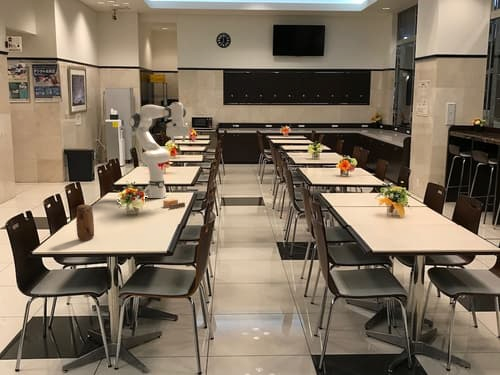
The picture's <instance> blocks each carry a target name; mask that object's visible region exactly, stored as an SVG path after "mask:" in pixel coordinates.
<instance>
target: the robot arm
mask: <svg viewBox="0 0 500 375" xmlns="http://www.w3.org/2000/svg"><path fill="white" fill-rule="evenodd" d="M186 114H187V111H186V109H185V107H184V106H183V103H182V102H180V101H179V102H178V101H174V102H172V103H171V104H170V105H169V106H168V105H167V106H162V105H161V106H160V105H155V104H145V105H143V106H141V107H140V109H139V113H137V112H136V113H134V114H133V115H131V116H130V118H129V121H128V122H129V125H130V126H131V128H133V129H136V130H135V135H136V139H137V140H138V142H139V144H140V146H141V147H142V150H144V152H142V153H141V155H140V158H141V159H140V160H141V162H142V163H143V164H144V165H146V168H147V170H148V172H149V180H148V185H147V186H146V187H145V188H144V190H143V193H144V192H145V195H146V196H148V197H147V198H161V199H165V198H164V197H166V198H167V196H166V194H167V189H166V186H165V178H164V177H165V176H164V170H163V169H162V168H160V167H159V164H164V163H166V162H169V161H170V159H171V153H170V151H169V150H168V149H165V148H163V147H161V146H160V145H159V144H158V143H157V142H156V141H155V139H154V138H153V136H152V134H151V133H150V130H152V129H153V127H154V126H155V124H156V119H158V118H162V117H163V118H165V119H167V120H171V121H170V122H168V123H166V133H165V134H166V136H167V137H169V138H170V139H171V142H172V143H176V139H174V138H175V137H182V139H181V142H185V141H186V137H187V136H190V135H191V134H190V126H189V124H188V123H187V122H186V123H184V122H185V119H184V118H185V117H186ZM147 198H146V199H147Z"/></svg>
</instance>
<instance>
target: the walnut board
mask: <svg viewBox="0 0 500 375" xmlns="http://www.w3.org/2000/svg"><path fill="white" fill-rule="evenodd" d="M180 207H181V208H185V207H186V202H178V203H177V204H172V205H169V208H168V209H170V210H175V208H176V209H180Z"/></svg>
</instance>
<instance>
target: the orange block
mask: <svg viewBox="0 0 500 375" xmlns="http://www.w3.org/2000/svg"><path fill="white" fill-rule="evenodd" d="M162 202H163V208H167V207H168V208H167V209H169V205H172V204H177V203H179V200H178V199H176V198H168V199H165V200H163V201H162Z"/></svg>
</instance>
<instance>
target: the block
mask: <svg viewBox="0 0 500 375" xmlns="http://www.w3.org/2000/svg"><path fill="white" fill-rule="evenodd" d="M76 208H77V209H76V216H75V218H76V234H77V238H78V240H79V241H80V242H86V241H87V242H88V241H90V240H92V239H93V238H94V236H95V224H94V212H93V206H92V205H91V204H89V205H88V204H80V205H78V206H77V207H76Z"/></svg>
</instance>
